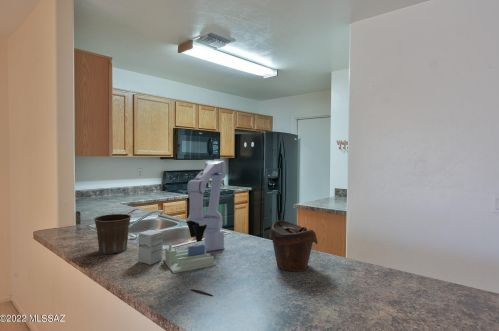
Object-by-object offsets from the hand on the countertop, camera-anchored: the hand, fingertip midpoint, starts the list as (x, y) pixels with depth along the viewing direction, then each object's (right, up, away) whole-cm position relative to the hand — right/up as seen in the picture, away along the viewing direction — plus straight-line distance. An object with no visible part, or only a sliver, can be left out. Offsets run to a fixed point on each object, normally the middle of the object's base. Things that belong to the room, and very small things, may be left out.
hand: (196, 238), depth 125 cm
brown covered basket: (+41, -11, -4) cm, 43 cm away
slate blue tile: (0, -9, 0) cm, 9 cm away
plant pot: (-43, -9, +14) cm, 46 cm away
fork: (+4, -11, -27) cm, 30 cm away
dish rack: (-3, -10, -1) cm, 10 cm away
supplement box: (-20, -10, 0) cm, 22 cm away
